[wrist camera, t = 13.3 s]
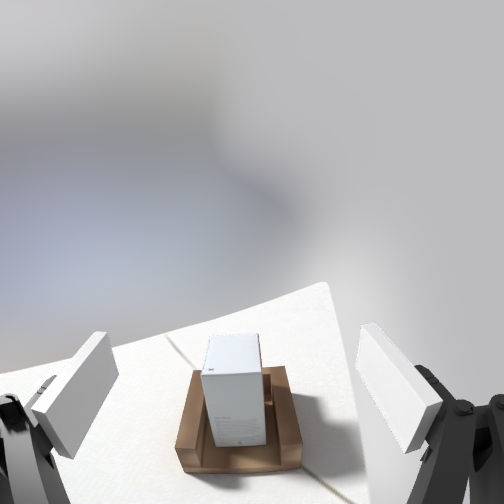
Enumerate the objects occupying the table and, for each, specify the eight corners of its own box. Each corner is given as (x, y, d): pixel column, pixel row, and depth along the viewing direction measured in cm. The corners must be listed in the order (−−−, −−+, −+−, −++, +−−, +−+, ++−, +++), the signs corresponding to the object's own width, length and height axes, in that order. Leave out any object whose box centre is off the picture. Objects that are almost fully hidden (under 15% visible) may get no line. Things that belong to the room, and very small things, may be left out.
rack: (184, 472, 23) (174, 447, 22) (198, 395, 37) (193, 370, 36) (300, 468, 23) (302, 443, 22) (284, 391, 37) (284, 365, 36)
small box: (266, 446, 26) (263, 372, 24) (214, 448, 26) (199, 375, 24) (263, 401, 34) (259, 331, 32) (219, 403, 34) (209, 334, 32)
